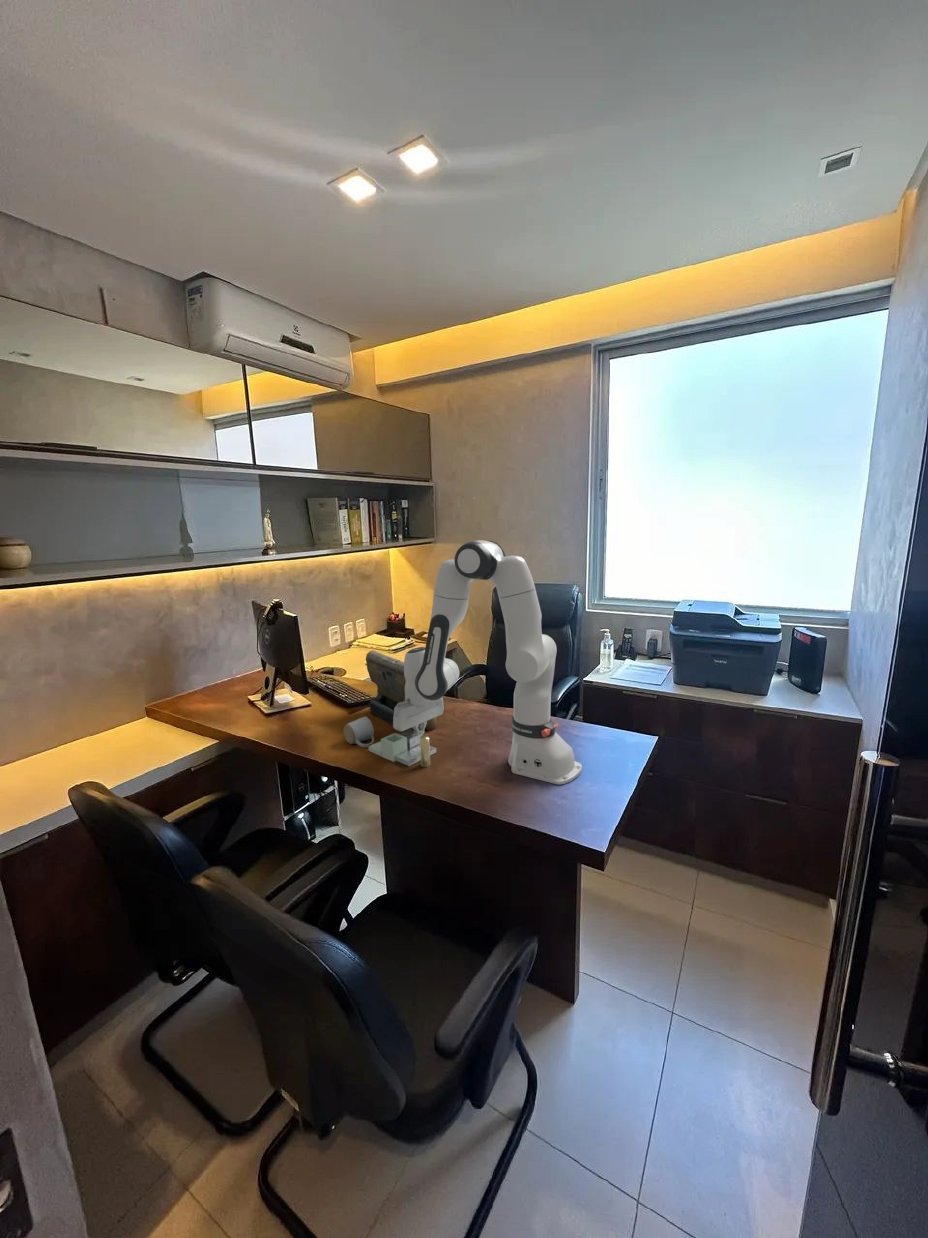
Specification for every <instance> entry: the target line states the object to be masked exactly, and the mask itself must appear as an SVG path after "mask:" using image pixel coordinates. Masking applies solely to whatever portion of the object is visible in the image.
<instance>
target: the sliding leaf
mask: <svg viewBox="0 0 928 1238" xmlns="http://www.w3.org/2000/svg"><path fill="white" fill-rule="evenodd" d="M398 734H399V735H402V736H404V737H407V751H406V752H403V753H401V754H399V755H397V756H396V761H395V762H398V763H400V764H402V765H405V766H407V767H411V766H412V765H414V764H417V763H418V762H421V748H420V737H421V736H423V734H422V733H420V732H417V731H415V730H412V729H409V730H407V731H405V732H404V731H402V732H401V733H398ZM434 754H437V747H434V746H432V745H430V756H432V755H434Z"/></svg>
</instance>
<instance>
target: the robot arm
mask: <svg viewBox="0 0 928 1238" xmlns="http://www.w3.org/2000/svg"><path fill="white" fill-rule="evenodd" d="M475 580H480V581H481V580H482V581H483V580H484V581H488V580H491V581H492V582H493V584H494V585H495V588H496V592H497V596H498V600H499V604H500V609H501V612H502V617H503V618H502V619H503V621H504V627H505V643H506V661H505V669H506V672H507V674H508V676H509V677H510V678H511V679H513V680H514V681H516V683H515V688H514V692H513V716H512V719H511V730H512V741H511V747H510V752H509V755H508V759H507V763H508V764H509V766H510V767H511V770H510V771H511V772H512V773H513V774H515V775H517V776H518V775H519V776H523V777H527V778H531V779H536V780H539V781H542V782H547V783H551V784H554V785H559V786H560V785H563V784H567V783H570V782H572V781H573V780H575V779H576V778H577V777H578V776H580V774H581V773H582V772H583V764H582V763H580V762H579V761H576V759H575V754H574V751H573V748H572V747H571V746H570V745H569V744H568V743H567V742H566V741H565V740H564V739H563V738H562V737H561V736H560V735H559V734H558V733H557V732H556V729H557V728H558V727H559V723H556V724H555V723H553V720H552V718H551V702H552V690H553V682H554V676H555V668H556V667H555V666H556V657H557V651H558V650H557V649H558V647H557V644H556V642H555V641H554V639H553V638H552V637H551V636H549V635H548V634H545V633H544V634H543V632H542V616H543V615H542V610H541V607H540V602H539V598H538V594H537V590H536V585H535V582H534V578H533V576H532V572H531V570H530V568H529V566H528V564H527V562H526V560H525V559H524V558H523V557H521V556H519V555H506V552H505V550H504V549H503V547H502V546H501V545H500V544H499V543H498V542H495V541H493V540H481V539H479V540H473V541H467V542H465V543H463V544H462V545H461V546H460V547H459V548H458V549H457V551H456V552H455V555H454V559H453V558H451V559H446V560H444V561H443V562H441V564H440V565H439V568H438V571H437V574H436V578H435V584H434V589H433V596H432V597H433V598H432V599H433V600H432V608H431V614H430V615H431V616H430V620H429V627H428V632H427V635H426V643H425V646H419V647H415V648H412V649H409V650H408V651H406V653H405V655H404V661H403V662H404V676H405V680H406V683H405V701H403V702H399V703H398V704H397V705H396V707H395V708H394V717H393V725H392V728H393V729H394V730H396V731H398V732H401V733H403V732H404V730H407V729H409V728H411V727H412V728H413V729H414V730H415V731H417V732H420V733H422V735H424V734H425V730H426V729H425V727H426V724H427V721H428V720H430V719H432V718H435V717H436V718H437V717H439V716H441V715H443V713H444V707H445V706H444V698H443V696H444V695H445V694H446V693H447V691H449V690H450V689H451V688H452V687H453V686H454V685H455V684H456V682H457V681H458V680H459V678H460V674H461V672H460V668H459V664H457V663H456V661H454V660H453V659H451V658H447V657H446V655H447V648H448V644H449V640H450V638H451V636H452V635H453V633H454V631H455V630H456V629H457V628H458V626H459V625H460V624H461V622H462V621H463V620H464V619H465V618H466V614H467V611H468V606H469V603H470V602H469V601H470V595H471V593H470V592H471V586H472V583H473V581H475Z"/></svg>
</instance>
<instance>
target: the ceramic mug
mask: <svg viewBox="0 0 928 1238" xmlns="http://www.w3.org/2000/svg"><path fill="white" fill-rule="evenodd" d="M374 734H375V728H374V725H373V722H372V721H371V720H370V718H368V717H367V716H363V717H360V718H358V719H356V720H352V721H351V722H348V723H347V724H345V726H344V727H343V735H344V738H345V740H346V742H347V743H348V744H350V745H354V744H356V745H358V746H359V747H361V748H364V749H366V748H369V746H371V745H373V744H374V739H375V738H374ZM370 739H371V742H370V743H362V742H364V741H367V740H370Z"/></svg>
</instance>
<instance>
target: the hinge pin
mask: <svg viewBox="0 0 928 1238" xmlns="http://www.w3.org/2000/svg"><path fill="white" fill-rule="evenodd" d="M430 746H431V745H430V736H429V735H422V736H421V737H420V748H421V761H420V767H422V768H428V767H430V766H431V755H430Z"/></svg>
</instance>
